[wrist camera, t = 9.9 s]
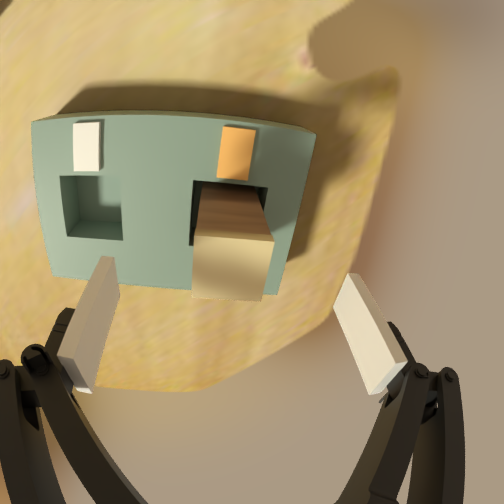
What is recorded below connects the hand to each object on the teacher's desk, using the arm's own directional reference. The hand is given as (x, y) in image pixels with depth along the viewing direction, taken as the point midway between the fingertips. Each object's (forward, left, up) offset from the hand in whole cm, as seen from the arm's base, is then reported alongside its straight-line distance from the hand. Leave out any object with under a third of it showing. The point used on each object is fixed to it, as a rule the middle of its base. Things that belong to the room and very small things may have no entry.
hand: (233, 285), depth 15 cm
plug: (0, 0, -13) cm, 13 cm away
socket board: (0, -6, -14) cm, 15 cm away
